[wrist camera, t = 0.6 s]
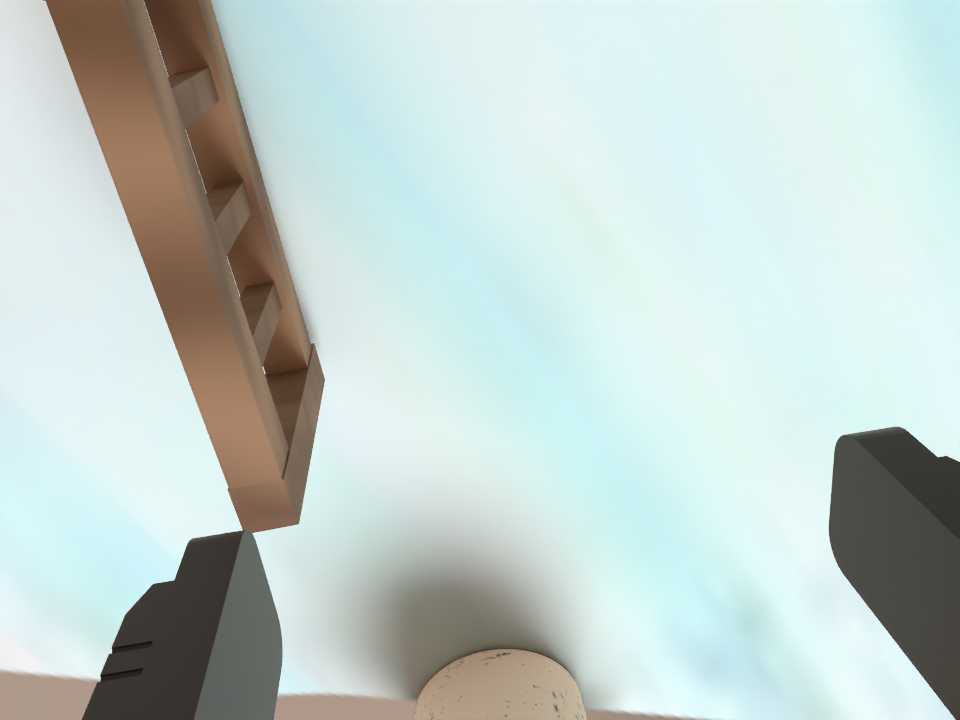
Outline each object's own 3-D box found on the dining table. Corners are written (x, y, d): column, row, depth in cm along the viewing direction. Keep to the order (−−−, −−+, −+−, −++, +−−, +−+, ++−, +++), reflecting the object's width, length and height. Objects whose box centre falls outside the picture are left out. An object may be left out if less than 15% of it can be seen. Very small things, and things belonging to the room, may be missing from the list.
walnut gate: (138, -73, 25) (10, -85, 16) (191, -82, 25) (88, -100, 16) (284, 387, 32) (244, 534, 24) (324, 379, 32) (298, 524, 24)
